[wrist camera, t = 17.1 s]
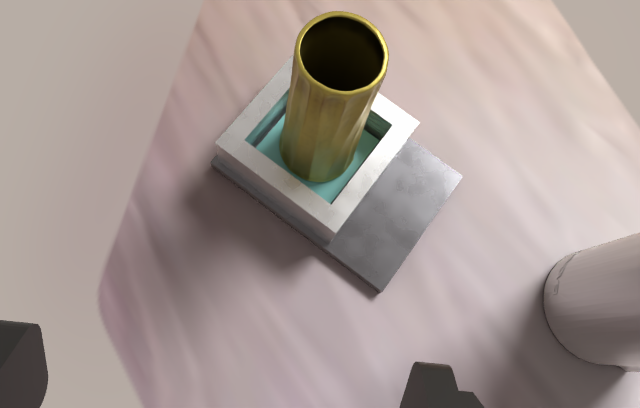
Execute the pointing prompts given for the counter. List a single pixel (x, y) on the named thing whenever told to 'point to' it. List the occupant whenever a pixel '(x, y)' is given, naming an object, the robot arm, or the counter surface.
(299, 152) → the vase
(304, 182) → the plate
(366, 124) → the grey tray
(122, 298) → the counter surface
